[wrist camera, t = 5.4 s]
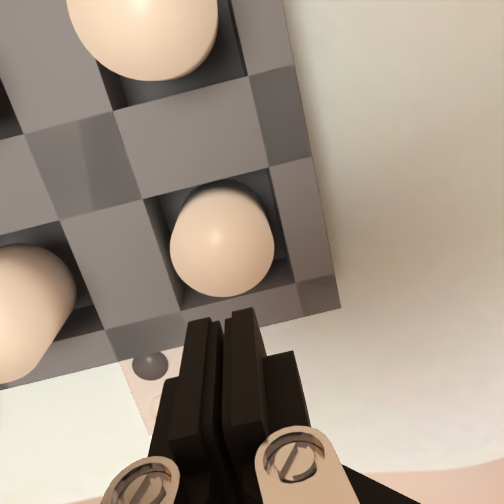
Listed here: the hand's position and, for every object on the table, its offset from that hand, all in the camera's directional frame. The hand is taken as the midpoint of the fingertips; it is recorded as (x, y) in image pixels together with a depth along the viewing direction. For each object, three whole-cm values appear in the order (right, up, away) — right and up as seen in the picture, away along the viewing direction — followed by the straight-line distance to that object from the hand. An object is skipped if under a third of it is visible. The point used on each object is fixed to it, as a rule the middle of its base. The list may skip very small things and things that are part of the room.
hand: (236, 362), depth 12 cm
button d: (-11, +1, +11) cm, 16 cm away
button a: (-3, +12, +7) cm, 15 cm away
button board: (-7, +8, +13) cm, 17 cm away
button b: (-1, +4, +14) cm, 14 cm away
